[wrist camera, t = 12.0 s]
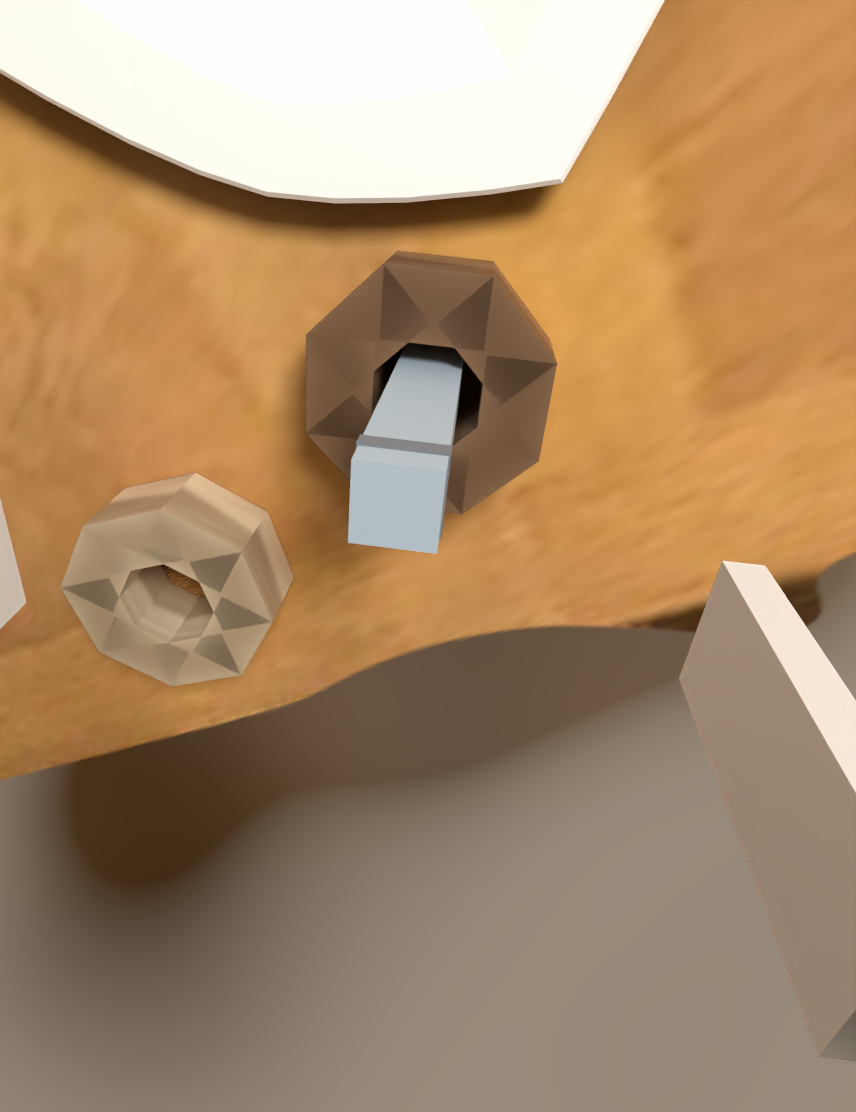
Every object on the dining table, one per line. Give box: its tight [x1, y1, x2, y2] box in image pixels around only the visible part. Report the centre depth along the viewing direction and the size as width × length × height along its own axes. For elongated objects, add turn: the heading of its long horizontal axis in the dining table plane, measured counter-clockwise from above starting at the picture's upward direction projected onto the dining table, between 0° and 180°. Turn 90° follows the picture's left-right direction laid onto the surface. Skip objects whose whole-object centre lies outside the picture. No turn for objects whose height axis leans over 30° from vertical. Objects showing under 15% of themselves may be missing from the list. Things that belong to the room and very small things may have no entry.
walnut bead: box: [306, 251, 557, 514], centre depth 25 cm, size 8×8×4 cm
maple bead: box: [61, 473, 294, 686], centre depth 30 cm, size 8×8×4 cm
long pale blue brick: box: [348, 342, 464, 554], centre depth 22 cm, size 2×2×12 cm
